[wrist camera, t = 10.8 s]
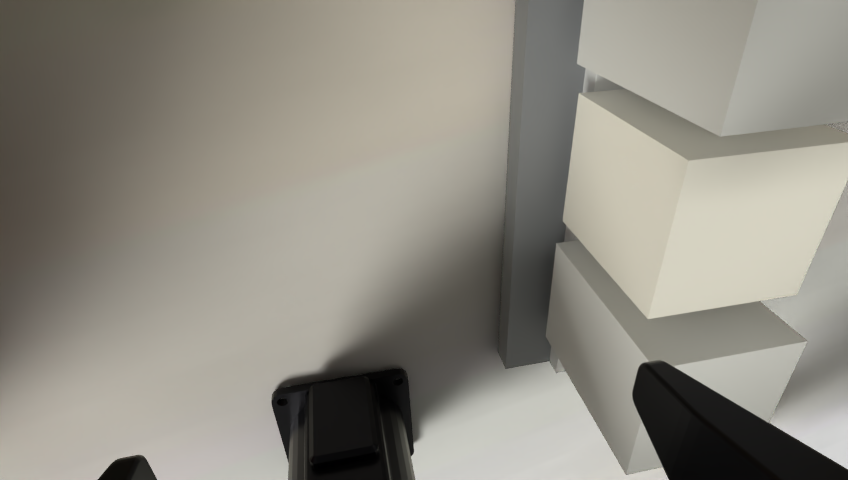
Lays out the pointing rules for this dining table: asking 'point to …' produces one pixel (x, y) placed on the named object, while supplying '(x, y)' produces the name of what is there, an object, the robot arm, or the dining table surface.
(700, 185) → the block
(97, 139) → the dining table surface
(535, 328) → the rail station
